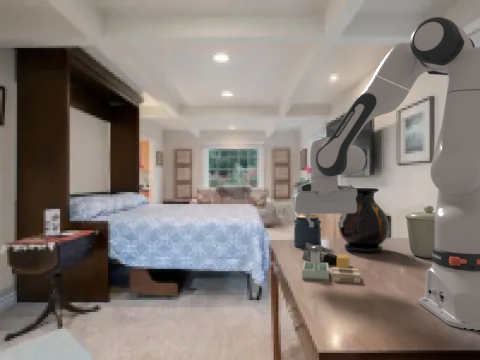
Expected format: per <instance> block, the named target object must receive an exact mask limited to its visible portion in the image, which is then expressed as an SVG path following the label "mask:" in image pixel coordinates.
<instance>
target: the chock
mask: <svg viewBox="0 0 480 360" xmlns="http://www.w3.org/2000/svg"><path fill="white" fill-rule="evenodd" d="M336 256H337V264H336V267H337V268H350V263H351V262H350V258H351V257H350V254H340V253H339V254H337V255H336Z"/></svg>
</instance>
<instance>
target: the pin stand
mask: <svg viewBox="0 0 480 360" xmlns="http://www.w3.org/2000/svg"><path fill="white" fill-rule="evenodd" d="M332 281H333V282H334V283H336V282H337V283H338V282H339V283H353V284H361V273H360V271H359V269H358V268H356V267H355V268H354V267H353V268H351V267H349V268H337V266H335V267H334V266H332Z"/></svg>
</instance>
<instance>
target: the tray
mask: <svg viewBox="0 0 480 360" xmlns="http://www.w3.org/2000/svg"><path fill="white" fill-rule="evenodd" d="M302 265H303V266H302V269H301V271H302V272H301V273H302V274H301V278H302V279H301V280H307V281H308V280H310V281H311V280H312V281H324V282H325V281H327V282H328V281H329V279H330V278H329V277H330V274H329V272H330V270H329V269H330V268H329V263H327V262H320V270H311V262H307V261H303V264H302Z"/></svg>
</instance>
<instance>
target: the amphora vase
mask: <svg viewBox="0 0 480 360" xmlns="http://www.w3.org/2000/svg"><path fill="white" fill-rule="evenodd" d="M355 188H356V189H357V197H356V203H357V211H356V213H346V218H345V220H344V222H343V227H338V232H339V234H340V236H341V238H342V239H343V240H344V241H345V242H346V243H344V248H345V249H346V250H347V251H349V252H354V253H360V254H361V253H362V254H375V253H380V252H382V251H383V250H384V247H383V246H382V245H381V244H383V243H384V242H385V241H386V239H387V238H388V237H389V235H390V225H389V220H388V217H387V215H386V213H385V211H384V210H383V209H382V207H381V206H379V204H378V203H377V202H376V201H375V193H378V192H379V191H380V190H379V188H377V187H355ZM351 189H354V188H351ZM342 218H343V217H342V216H341V215H340V218H339V222H341V220H342Z"/></svg>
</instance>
